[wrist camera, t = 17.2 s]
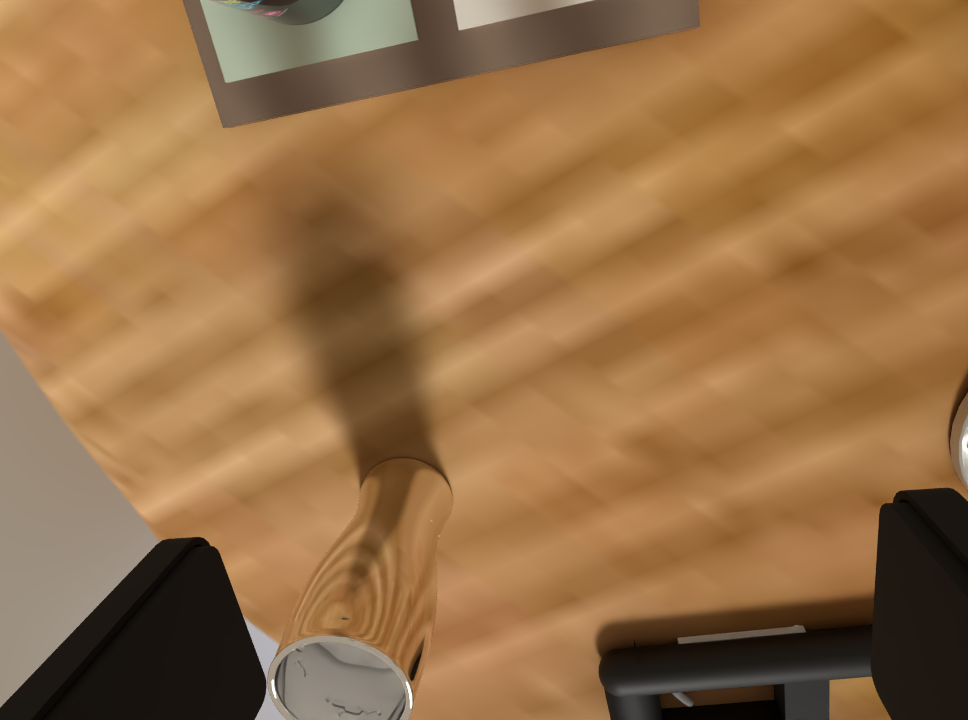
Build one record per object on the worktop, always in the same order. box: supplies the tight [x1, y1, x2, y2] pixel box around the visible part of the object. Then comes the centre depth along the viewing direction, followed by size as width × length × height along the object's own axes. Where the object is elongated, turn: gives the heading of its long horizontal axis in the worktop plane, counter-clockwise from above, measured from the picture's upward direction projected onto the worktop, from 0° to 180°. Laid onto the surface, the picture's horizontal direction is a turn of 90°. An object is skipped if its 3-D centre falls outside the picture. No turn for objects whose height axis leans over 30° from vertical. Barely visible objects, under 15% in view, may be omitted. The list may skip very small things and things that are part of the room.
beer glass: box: [267, 458, 453, 720], centre depth 34 cm, size 7×7×15 cm
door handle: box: [599, 625, 873, 720], centre depth 45 cm, size 3×20×16 cm
